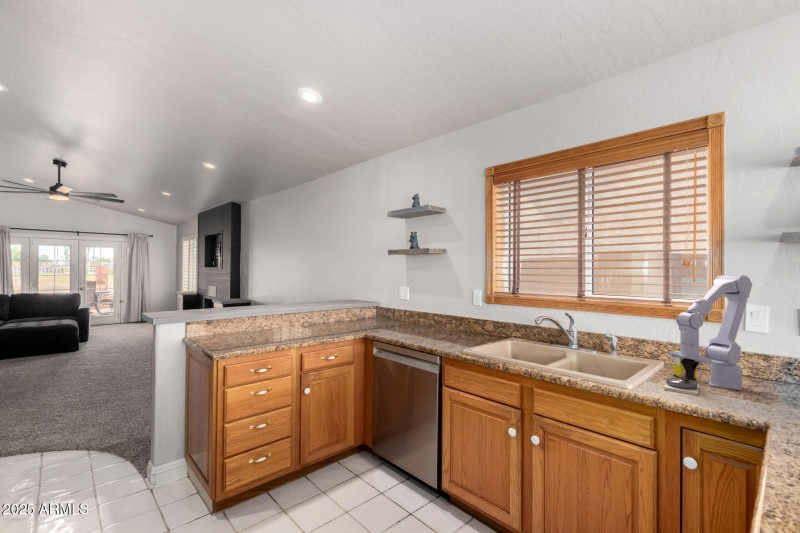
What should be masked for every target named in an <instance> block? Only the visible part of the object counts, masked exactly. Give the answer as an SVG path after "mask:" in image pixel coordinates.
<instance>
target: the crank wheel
mask: <svg viewBox="0 0 800 533" xmlns="http://www.w3.org/2000/svg"><path fill="white" fill-rule="evenodd" d="M665 381H666V382H665V384H666V383H667V384H668V385H671V386H674V387H678V388H684V389H697V388H698V385H699V384H698V382H697V381H696V380H689V379H686V371H682V378H678V377H667V378H666V380H665Z"/></svg>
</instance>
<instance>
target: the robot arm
mask: <svg viewBox="0 0 800 533" xmlns="http://www.w3.org/2000/svg"><path fill="white" fill-rule="evenodd" d="M712 284H713V285H712V287H711V288H710V289H709V290H708V292H707V293H706V294H705V295H704V297H703V298H698V299H696V300H695V301H694V303H693V304H691V305H690V306H689V307H688V309H687V310H685V311H683V312H680V313H679V314H678V315H677V317H676V318H675V321H676V324H677V325H678V330H679V333H680V336H679V337H680V338H679V339H680V340H679V341H680V344H679V346H680V349H679V351H680V352H675V351H676V350H673V351H671V350H670V351H669V356H670V357H678V358H682V359H683V360H681V363H682V365H683V367H684V369H685V371H686V379H689V380H691V379H694V371H695V369H696V370H697V367H698V366H699V365H700V364H704V365H706V366H707V365H710V368H709V370H710V373H709V375H710V377H709V378H710V379H709V381H708V386H709V387H716V388H723V389H729V390H737V391H742V386H743V380H742V366H741V365H740V364H739V365H738V363H739V362H740V360H741V350H742V347H741V346H740V345H739V344H738V343H737V342H736V339H737V335H738V332H739V329H740V326H741V324H742V318H743V315H744V312H745V310H746V305H747V302H748V298H749V297H750V294H751V290H752V287H753V283H752V281H751V279H750V277H748V275H744V274H743V275H725V274H724V275H723V274H720V275H718V276H716V278H715V279H713V282H712ZM721 297H724V298H726V299H727V300H728V302H727V305H726V307H725V310H724V313H723V318H722V320H721V324H720V326H719V331H718V334H717V336H716V337H714V338H712V339H709V342H708V344H707V345H706V346H705V348H704V355H705V357H704V356H702V355H700V328H701V327H703V325H704V320H705V318H706V316H707V315H708V314H709V313H711V311H712V310H713V308H714V307H713V305H714V303H715V302H717V301H718V300H719V299H720V298H721Z"/></svg>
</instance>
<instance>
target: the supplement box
mask: <svg viewBox="0 0 800 533" xmlns="http://www.w3.org/2000/svg"><path fill="white" fill-rule="evenodd" d="M674 351H675V352H680V350H674ZM681 360H683V359H682V358H678V357H673V377H675V378H682V371H685V369H684V367H683V365H682V363H681ZM691 380H692V381H696V380H697V368H696V369H695V371H694V379H691Z"/></svg>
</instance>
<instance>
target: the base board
mask: <svg viewBox="0 0 800 533" xmlns="http://www.w3.org/2000/svg"><path fill="white" fill-rule="evenodd" d="M663 389H664V391H670V392H675V393H682V394H687V395H693V396H699V389H700V384H698V388H697V389H684V388H678V387H674V386H671V385H668V384H667V383H666V382H665V384H664V387H663Z"/></svg>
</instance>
